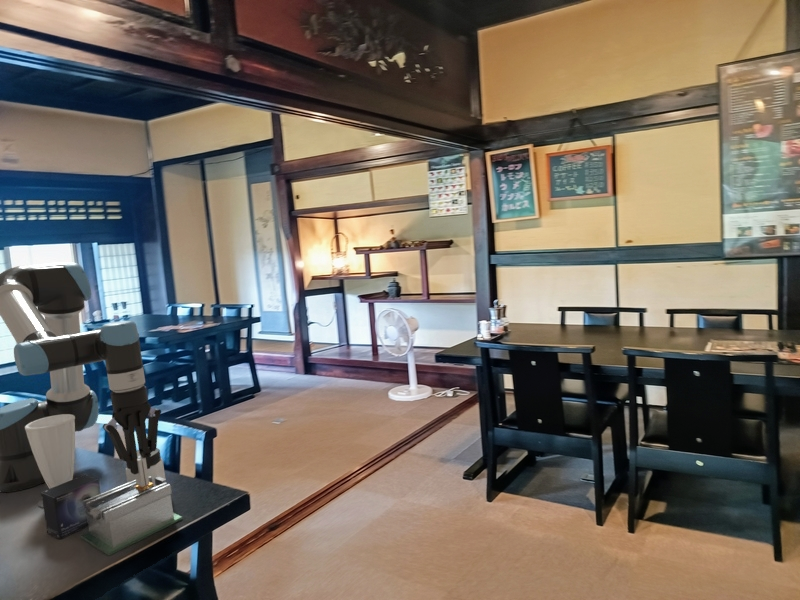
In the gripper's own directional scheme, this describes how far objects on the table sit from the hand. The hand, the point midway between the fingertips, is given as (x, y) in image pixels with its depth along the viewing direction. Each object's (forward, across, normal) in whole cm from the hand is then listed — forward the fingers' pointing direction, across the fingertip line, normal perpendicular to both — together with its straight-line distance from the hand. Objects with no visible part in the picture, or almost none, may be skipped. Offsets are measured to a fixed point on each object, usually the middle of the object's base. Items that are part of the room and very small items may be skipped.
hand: (143, 484), depth 128 cm
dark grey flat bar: (+2, -5, 0) cm, 6 cm away
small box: (+9, -10, +14) cm, 20 cm away
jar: (+9, +7, +13) cm, 17 cm away
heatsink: (+9, -4, 0) cm, 10 cm away
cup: (+9, -6, +35) cm, 37 cm away
